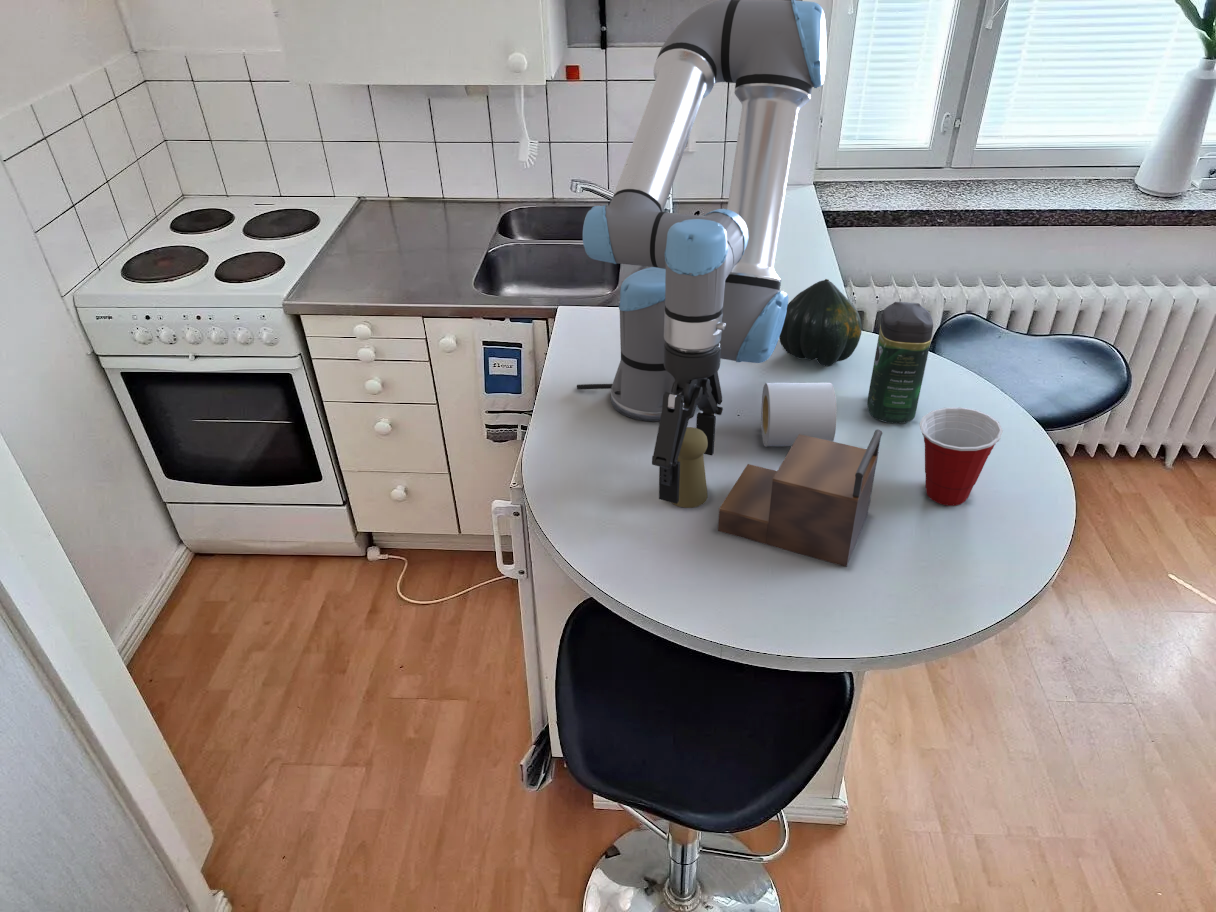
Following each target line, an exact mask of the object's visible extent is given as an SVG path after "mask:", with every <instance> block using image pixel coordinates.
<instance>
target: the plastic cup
mask: <svg viewBox="0 0 1216 912" xmlns="http://www.w3.org/2000/svg"><path fill="white" fill-rule="evenodd" d="M918 426H919V429H920V431H921V434H922V436H923V443H924V473H925V483H924V484H925V485H924V488H925V492H926V496H927V497H928V498H929V499H930V500H931V501H933V502H934V503H937V504H938V505H943V506H951V507H954V506H959V505H960V506H961V505H962V504H964V503H965V502H967V500H968V499H969V497H970V495H971V493H972V491H973V488H974V487H975V485H976V483H977V481H978V479H979V477H980V475H981V473H982V471H983V468H984V466H985V465H986V463H987V460H988V458H989V456H990V455H991V453H992V450H993V449H994V447H995V446H996V444H997V443H998V442H1000V440H1001V438H1002V435H1003V431H1004V430H1003V428H1002V425H1001V423H1000V422H999V421H998V420H997V419H996V418H994V417H993V416H992V415H990V414H988V413H985V412H983V411H980V410H977V409H972V408H968V407H967V408H966V407H961V406H959V407H957V406H955V407H942V408H938V409H933V410H931V411H929V412H928V413H926V414H925V415H923V416H922V417H921V419H920V421H919V425H918Z"/></svg>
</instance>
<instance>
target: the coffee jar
mask: <svg viewBox="0 0 1216 912" xmlns="http://www.w3.org/2000/svg"><path fill="white" fill-rule="evenodd" d="M933 320H934V319H933V317H932V315H931V313H930V312H929V310H927V309H926V308H925V307H923V306H922V305H921V304H920V303H917V302H909V301H894V302H893V303H891V304H888V306H886V307H885V308H884V309H883V311H882V313H881V318H880V324H879V331H878V338H877V343H876V349H875V355H874V360H873V366H872V372H871V377H870V383H869V389H868V394H867V402H866V403H867V404H866V405H867V410H868V413H869V415H870V416H871V417H872V418H873V419H875V420H878V421H881V422H884V423H887V424H903V423H909V422H912V421H913V420H914V419H915V417H916V413H917V409H918V404H919V399H920V394H921V388H922V385H923V380H924V376H925V370H926V365H927V361H928V357H929V351H930V346H931V343H932V337H933V330H934V321H933Z"/></svg>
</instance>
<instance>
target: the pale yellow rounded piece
mask: <svg viewBox="0 0 1216 912" xmlns="http://www.w3.org/2000/svg"><path fill="white" fill-rule="evenodd" d="M707 446H708V441H707V436H706V435H705V434H704V432H703V431H701V430H700V429H697V428H696V427H693V426H692V427H691V426H687V428H686V432H685V436H684V439H683V443H682V446H681V450H680V453H679V457H678V460H677V461H679V462H680V482H679V502H678V503H677V504H675V503H672V502H670V503H671V504H672V505H674V506H676V507H678V508H684V509H693V508H699V507H700V506H702V505H704V504H705V503H706V502H707V501H708V498H709V495H708V485H707V475H706V467H705V459H704V458H705V457H704V455H705V454H704V453H705V451H706V449H707Z"/></svg>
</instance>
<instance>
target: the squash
mask: <svg viewBox="0 0 1216 912" xmlns="http://www.w3.org/2000/svg"><path fill="white" fill-rule="evenodd" d="M862 330H863V328H862V319H861V316H860V313H859V312H858V309H857V308H856V306H855V305H854V304H853V303H852V302H851V300H850V299H848V298H847V297H846V296H845V295H844V293H843V292H842V291H841V290H840V289H839V288H838V287H837V286H836V284H834V283H833V282H832V281H830V279H829V278H824V279H823V280H819V281H816V282H815V283H813V284H811V285H810V286H808V287H807V288H805V289H804V290H802V291H800V292H799V293H798V294H796V295H795V296H794V297H793V298H792V299H791V300H790V301H788V305H787V312H786V317H785V320H784V324H783V327H782V331H781V334H780V337H779V342H780V345H781V346H782V348H783V350H784V351H785V352H786V353H787V354H789V355H790V356H792V357H794V358H796V359H800V360H803V359H804V360H805V359H806V360H809V361H815V360H816V361H817V363H818V364H819V365H820V366H822V367H831V366H833V365H834V364H835V363H836V362H837V363H838V362H843V361H845V360H847V359H848V358H850V357H851V356H852V355H853V353H854V352H855V350H856V349H857V347H858V345H859V342H860V340H861V337H862Z"/></svg>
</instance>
